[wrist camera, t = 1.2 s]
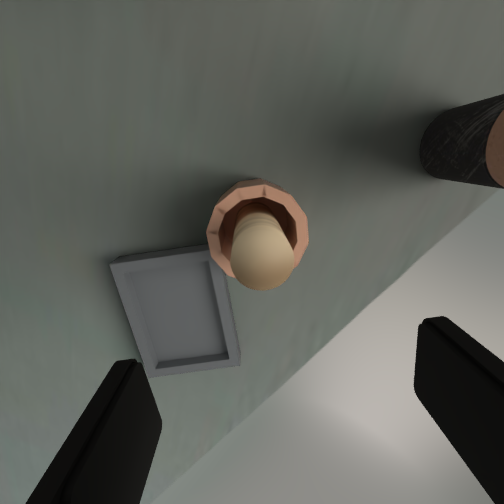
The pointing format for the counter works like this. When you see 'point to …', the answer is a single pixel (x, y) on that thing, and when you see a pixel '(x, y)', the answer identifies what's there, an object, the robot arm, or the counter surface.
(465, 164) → the travel mug
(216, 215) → the cup
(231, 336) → the tray
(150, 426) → the robot arm
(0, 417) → the counter surface
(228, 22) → the counter surface
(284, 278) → the peg
